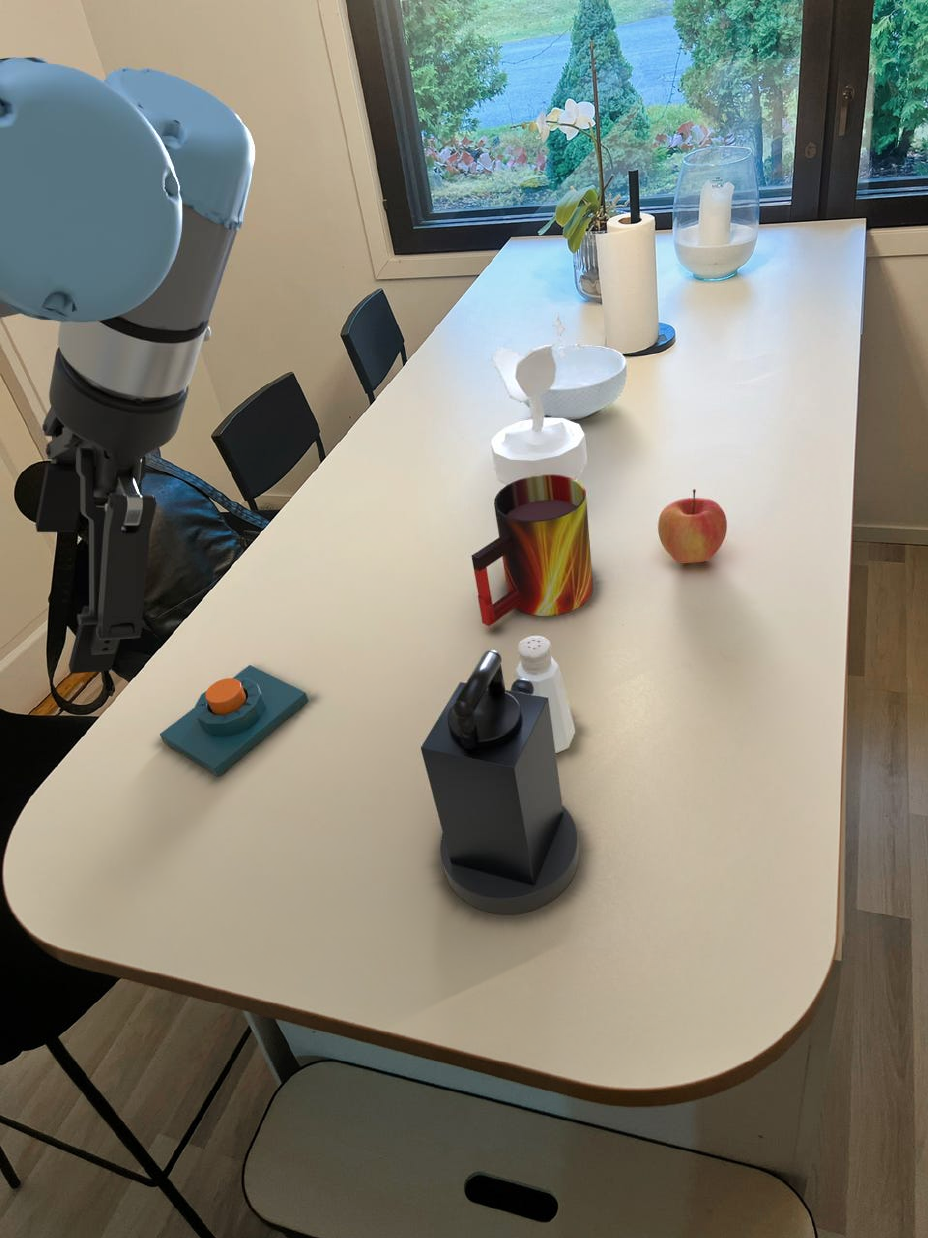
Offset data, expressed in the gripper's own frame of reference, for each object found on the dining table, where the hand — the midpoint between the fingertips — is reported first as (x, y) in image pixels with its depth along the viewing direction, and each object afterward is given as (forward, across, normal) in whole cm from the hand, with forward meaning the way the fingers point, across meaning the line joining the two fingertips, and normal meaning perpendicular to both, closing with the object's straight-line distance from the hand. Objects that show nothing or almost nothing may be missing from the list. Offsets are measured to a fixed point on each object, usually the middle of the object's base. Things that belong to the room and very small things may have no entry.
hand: (71, 595), depth 65 cm
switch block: (+20, -1, -18) cm, 27 cm away
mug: (+3, 0, -50) cm, 50 cm away
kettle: (0, -25, -29) cm, 39 cm away
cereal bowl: (+5, +38, -80) cm, 89 cm away
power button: (+18, 0, -17) cm, 25 cm away
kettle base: (+2, -27, -29) cm, 40 cm away
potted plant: (+5, +17, -61) cm, 64 cm away
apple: (-6, -2, -65) cm, 65 cm away
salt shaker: (+1, -18, -38) cm, 42 cm away
